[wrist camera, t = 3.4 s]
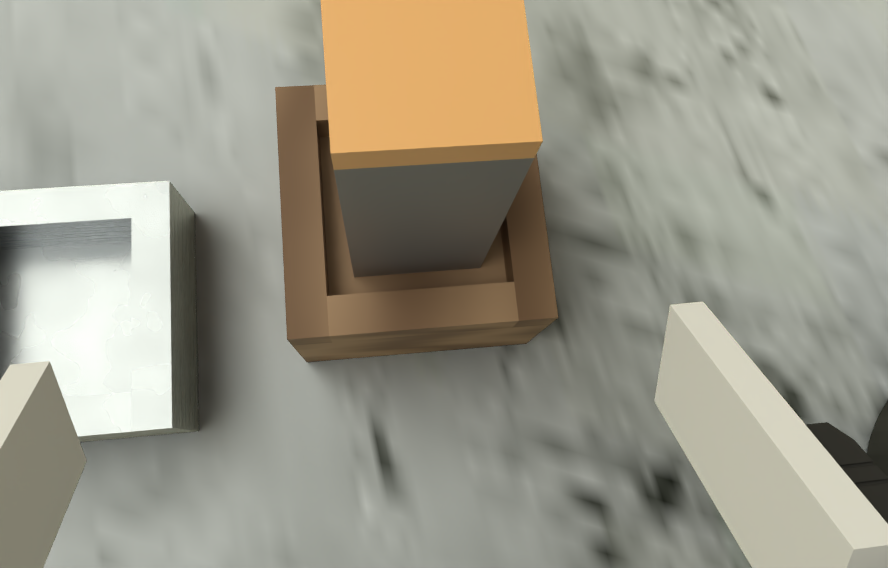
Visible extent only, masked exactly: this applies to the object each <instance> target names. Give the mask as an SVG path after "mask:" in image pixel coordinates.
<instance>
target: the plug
mask: <svg viewBox="0 0 888 568" xmlns="http://www.w3.org/2000/svg"><path fill="white" fill-rule="evenodd" d="M321 12H322V28H323V44H324V59H325V75H326V90H327V106H328V121H329V137H330V152H331V158H332V164H333V169H334V174H335V179H336V185H337V190H338V195H339V200H340V206H341V211H342V216H343V222H344V227H345V232H346V237H347V243H348V248H349V253H350V258H351V264H352V269H353V274H354V277H364V276H378V275H391V274H405V273H419V272H432V271H446V270H459V269H473V268H480V267H481V265H482V263H483V261H484V259H485V257H486V255H487V253H488V251H489V249H490V247H491V245H492V243H493V241H494V239H495V237H496V235H497V233H498V231H499V229H500V227H501V225H502V223H503V221H504V219H505V217H506V215H507V213H508V210H509V208H510V206H511V204H512V202H513V200H514V198H515V196H516V194H517V192H518V190H519V188H520V186H521V184H522V182H523V180H524V178H525V176H526V174H527V172H528V170H529V168H530V166H531V164H532V162H533V160H534V158H535V156H536V154H537V152H538V150H539V148H540V146H541V144H542V142H543V140H542V133H541V125H540V118H539V110H538V103H537V96H536V88H535V81H534V73H533V66H532V58H531V51H530V44H529V36H528V29H527V21H526V14H525V6H524V0H321Z"/></svg>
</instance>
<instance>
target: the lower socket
mask: <svg viewBox="0 0 888 568" xmlns="http://www.w3.org/2000/svg"><path fill="white" fill-rule="evenodd" d="M45 361H50V363H51V366H52V368H53V371H54V374H55V376H56V379H57V382H58V385H59V387H60V390H61V393H62V395H63V398H64V401H65V403H66V406H67V409H68V412H69V414H70V417H71V420H72V422H73V425H74V428H75V430H76V433H77V436H78V439H79V441H80V442H87V441H98V440H109V439H120V438H131V437H142V436H153V435H163V434H174V433H185V432H196V431H199V420H198V368H197V316H196V264H195V212H194V211H193V210H192V209H191V207H190V206H189V205H188V204H187V202H186V201H185V200H184V199H183V197H182V196H181V195H180V194H179V192H178V191H177V190H176V189H175V187H174V186H173V185H172V184H171V182H170V181H157V182H141V183H124V184H107V185H91V186H74V187H57V188H41V189H24V190H7V191H0V380H1V378H2V377H3V375H4V374H5V372H6V370H7V369H8V367H9V366H10V365H12V364H23V363H34V362H45Z"/></svg>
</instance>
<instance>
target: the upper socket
mask: <svg viewBox="0 0 888 568" xmlns="http://www.w3.org/2000/svg"><path fill="white" fill-rule="evenodd" d="M275 91H276V112H277V134H278V155H279V176H280V197H281V218H282V239H283V261H284V282H285V303H286V324H287V340H288V341H289V342H290V343H291V345H292V346H293V347H294V348H295V349H296V350H297V351H298V353H299V354H300V355H301V356H302V357H303V358H304V359H305V361H306V362H314V361H326V360H338V359H349V358H361V357H373V356H385V355H397V354H409V353H420V352H432V351H444V350H456V349H468V348H480V347H491V346H503V345H515V344H526V343H527V342H529V341H530V340H531V339H532V338H534V337H535V336H536V335H537V334H539V333H540V332H541V331H542V330H544V329H545V328H546V327H547V326H548V325H550V324H551V323H552V322H553V321H555V320H556V319H557V318H558V311H557V304H556V296H555V289H554V281H553V274H552V266H551V259H550V251H549V243H548V236H547V228H546V221H545V213H544V206H543V198H542V191H541V183H540V175H539V168H538V160H537V154H536V156H535V158H534V160H533V162H532V164H531V166H530V168H529V170H528V172H527V174H526V176H525V178H524V180H523V182H522V184H521V186H520V188H519V190H518V192H517V194H516V196H515V198H514V200H513V202H512V204H511V206H510V208H509V210H508V213H507V215H506V217H505V219H504V221H503V223H502V225H501V227H500V229H499V231H498V233H497V235H496V237H495V239H494V241H493V243H492V245H491V247H490V249H489V251H488V253H487V255H486V257H485V259H484V261H483V263H482V265H481V267H480V268H473V269H459V270H446V271H432V272H419V273H405V274H391V275H378V276H364V277H354V274H353V269H352V264H351V258H350V253H349V248H348V243H347V237H346V232H345V227H344V222H343V216H342V211H341V206H340V200H339V195H338V190H337V185H336V179H335V174H334V169H333V164H332V158H331V152H330V137H329V121H328V106H327V90H326V85H312V86H291V87H275Z"/></svg>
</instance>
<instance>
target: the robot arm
mask: <svg viewBox="0 0 888 568" xmlns="http://www.w3.org/2000/svg"><path fill="white" fill-rule="evenodd" d="M654 402H655V403H656V405H657V407H658V409H659V410H660V412H661V414H662V415H663V417H664V419H665V420H666V422H667V424H668V426H669V427H670V429H671V431H672V432H673V434H674V436H675V437H676V439H677V441H678V443H679V444H680V446H681V448H682V449H683V451H684V453H685V454H686V456H687V458H688V460H689V461H690V463H691V465H692V466H693V468H694V470H695V471H696V473H697V475H698V477H699V478H700V480H701V482H702V483H703V485H704V487H705V488H706V490H707V492H708V494H709V495H710V497H711V499H712V500H713V502H714V504H715V505H716V507H717V509H718V511H719V512H720V514H721V516H722V517H723V519H724V521H725V522H726V524H727V526H728V528H729V529H730V531H731V533H732V534H733V536H734V538H735V539H736V541H737V543H738V544H739V546H740V548H741V550H742V551H743V553H744V555H745V556H746V558H747V560H748V561H749V563H750V565H751V567H752V568H888V401H887V403H886V405H885V406H884V408H883V410H882V411H881V413H880V415H879V417H878V419H877V422H876V424H875V427H874V429H873V432H872V435H871V438H870V441H869V445H868V450H867V454H866V453H865V452H864V450H863V449H862V448H861V447H860V446H859V445H858V444H857V443H856V442H855V440H853V439H852V438H850V437H849V436H847V435H846V434H844V433H843V432H841V431H840V430H838V429H837V428H835V427H834V426H832V425H830V424H829V423H827V422H826V423H817V424H808V425H805V424H804V422H803V421H802V420H801V419H800V418H799V416H798V415H797V414H796V413H795V412H794V410H793V409H792V408H791V407H790V406H789V404H788V403H787V402H786V401H785V400H784V398H783V397H782V396H781V395H780V394H779V392H778V391H777V390H776V389H775V388H774V386H773V385H772V384H771V383H770V382H769V380H768V379H767V378H766V377H765V376H764V374H763V373H762V372H761V371H760V370H759V368H758V367H757V366H756V365H755V364H754V362H753V361H752V360H751V359H750V357H749V356H748V355H747V354H746V353H745V351H744V350H743V349H742V348H741V347H740V345H739V344H738V343H737V342H736V341H735V339H734V338H733V337H732V336H731V335H730V333H729V332H728V331H727V330H726V329H725V327H724V326H723V325H722V324H721V323H720V321H719V320H718V319H717V318H716V317H715V315H714V314H713V313H712V312H711V311H710V309H709V308H708V307H707V306H706V305H705V303H704V302H694V303H683V304H672V305H670V308H669V314H668V321H667V327H666V333H665V339H664V345H663V351H662V357H661V363H660V370H659V376H658V382H657V388H656V394H655V400H654ZM86 462H87V460H86V457H85V455H84V452H83V449H82V447H81V444H80V441H79V439H78V436H77V433H76V430H75V428H74V425H73V422H72V420H71V417H70V414H69V412H68V409H67V406H66V403H65V401H64V398H63V395H62V393H61V390H60V387H59V385H58V382H57V379H56V376H55V374H54V371H53V368H52V366H51V363H50V361H45V362H34V363H23V364H12V365H10V366H9V367H8V369H7V370H6V372H5V374H4V375H3V377H2V378H1V380H0V568H43V567H44V564H45V562H46V559H47V557H48V555H49V552H50V550H51V547H52V545H53V542H54V540H55V537H56V535H57V533H58V530H59V528H60V525H61V523H62V520H63V518H64V515H65V513H66V511H67V508H68V506H69V503H70V501H71V498H72V496H73V493H74V491H75V489H76V486H77V484H78V481H79V479H80V476H81V474H82V471H83V469H84V467H85V464H86Z"/></svg>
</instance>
